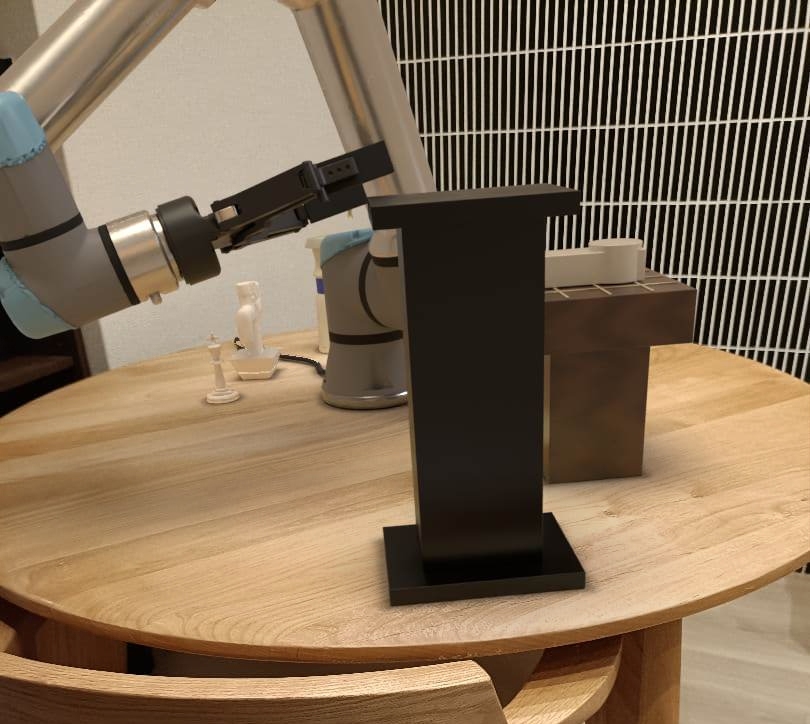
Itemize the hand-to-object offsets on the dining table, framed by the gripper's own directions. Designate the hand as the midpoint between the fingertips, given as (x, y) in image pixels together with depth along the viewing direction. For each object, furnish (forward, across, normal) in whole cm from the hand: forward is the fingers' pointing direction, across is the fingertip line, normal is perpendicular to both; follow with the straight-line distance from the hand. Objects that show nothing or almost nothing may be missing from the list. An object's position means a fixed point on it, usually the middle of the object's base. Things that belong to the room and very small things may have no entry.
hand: (375, 174), depth 80 cm
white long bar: (+10, +3, -15) cm, 18 cm away
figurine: (-16, -56, -15) cm, 60 cm away
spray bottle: (0, -68, -16) cm, 70 cm away
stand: (-7, +17, -35) cm, 40 cm away
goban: (+12, -1, -35) cm, 37 cm away
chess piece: (-22, -45, -16) cm, 53 cm away
